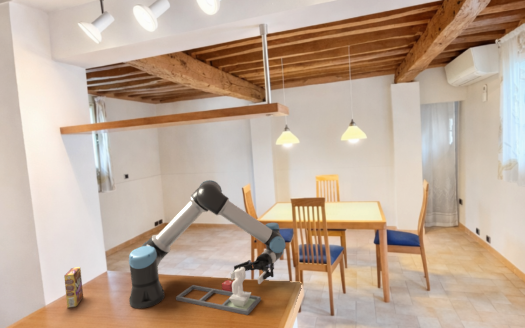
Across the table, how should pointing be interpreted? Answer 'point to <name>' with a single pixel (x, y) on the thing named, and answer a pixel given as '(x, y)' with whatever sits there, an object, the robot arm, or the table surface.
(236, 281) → the figurine
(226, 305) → the frame
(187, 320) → the table surface
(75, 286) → the candy box
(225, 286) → the red die
